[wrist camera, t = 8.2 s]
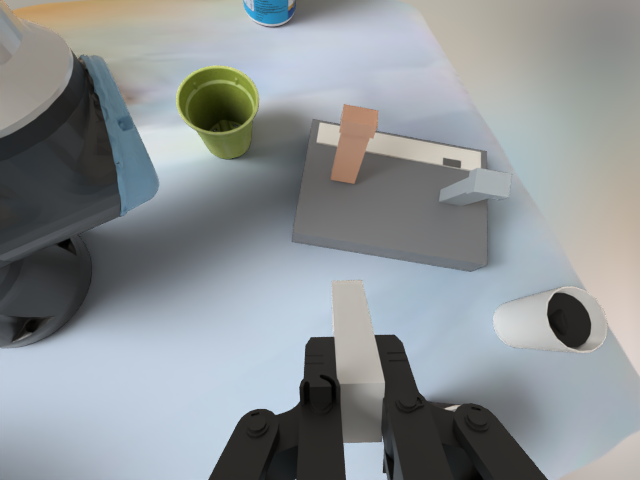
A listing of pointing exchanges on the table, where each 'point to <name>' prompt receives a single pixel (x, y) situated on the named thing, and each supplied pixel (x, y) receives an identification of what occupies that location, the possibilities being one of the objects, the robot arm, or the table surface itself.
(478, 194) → the slate lever
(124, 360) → the table surface
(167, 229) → the table surface
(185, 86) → the plant pot
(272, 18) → the beverage bottle
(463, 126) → the table surface
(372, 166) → the switch unit
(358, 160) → the terracotta lever
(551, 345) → the white paper cup
